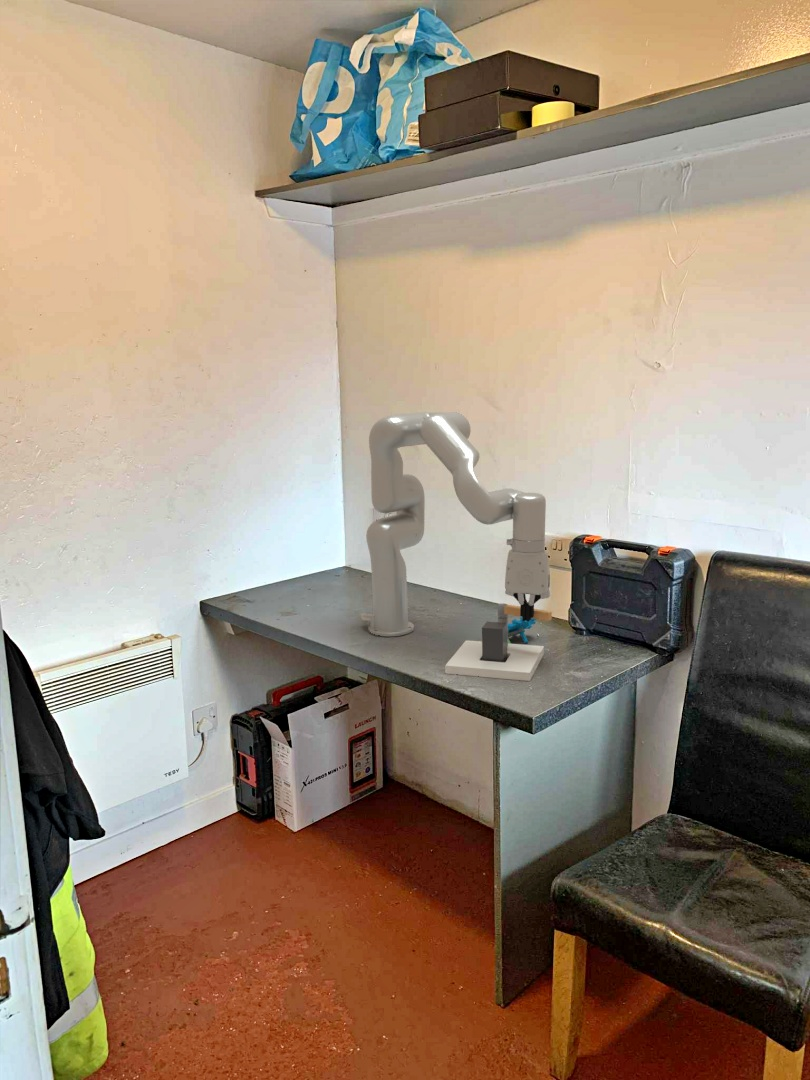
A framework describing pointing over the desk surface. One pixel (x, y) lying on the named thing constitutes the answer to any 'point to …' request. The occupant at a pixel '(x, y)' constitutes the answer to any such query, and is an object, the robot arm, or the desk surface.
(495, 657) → the plug
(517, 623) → the blue spiky figurine
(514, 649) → the socket block
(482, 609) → the desk surface
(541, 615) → the clip
